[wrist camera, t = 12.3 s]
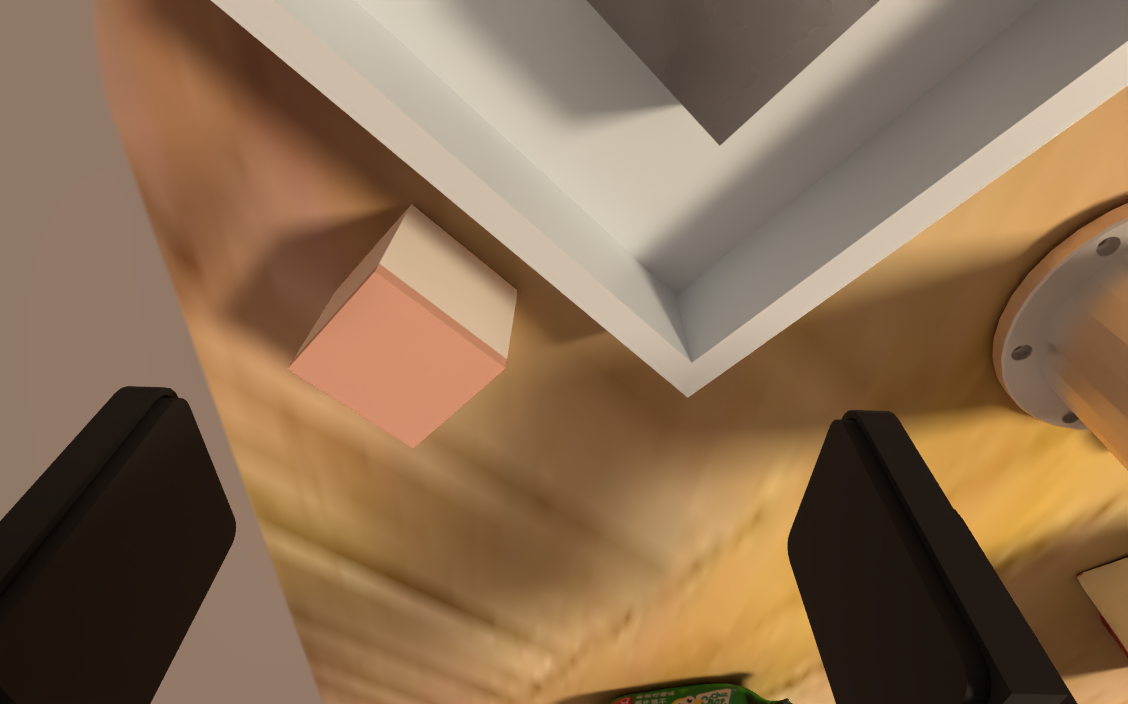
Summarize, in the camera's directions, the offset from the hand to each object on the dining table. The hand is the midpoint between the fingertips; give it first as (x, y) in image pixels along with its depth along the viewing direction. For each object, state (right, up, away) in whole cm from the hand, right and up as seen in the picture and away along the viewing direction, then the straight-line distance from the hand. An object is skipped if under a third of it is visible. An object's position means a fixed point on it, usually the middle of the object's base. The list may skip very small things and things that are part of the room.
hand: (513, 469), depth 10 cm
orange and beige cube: (-6, +5, +20) cm, 21 cm away
